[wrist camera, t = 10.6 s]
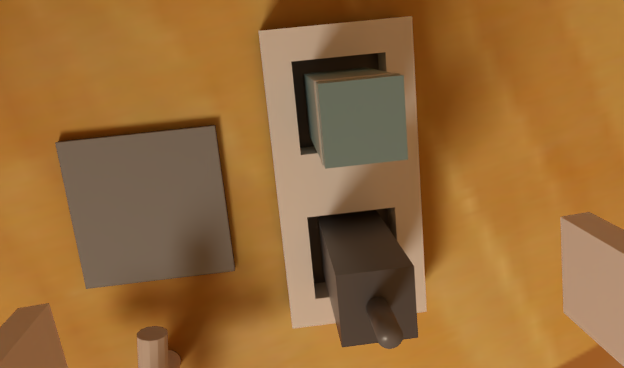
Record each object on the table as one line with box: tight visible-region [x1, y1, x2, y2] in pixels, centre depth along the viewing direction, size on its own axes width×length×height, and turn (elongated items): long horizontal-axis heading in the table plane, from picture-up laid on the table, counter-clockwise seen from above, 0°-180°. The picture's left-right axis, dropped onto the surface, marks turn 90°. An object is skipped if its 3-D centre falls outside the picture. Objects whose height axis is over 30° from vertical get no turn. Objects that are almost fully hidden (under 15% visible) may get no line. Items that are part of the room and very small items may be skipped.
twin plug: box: [318, 210, 418, 349], centre depth 32 cm, size 4×4×13 cm
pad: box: [55, 125, 235, 289], centre depth 37 cm, size 10×10×1 cm
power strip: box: [259, 16, 427, 328], centre depth 36 cm, size 19×9×4 cm, turn 5°
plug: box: [304, 67, 408, 169], centre depth 31 cm, size 4×4×10 cm
